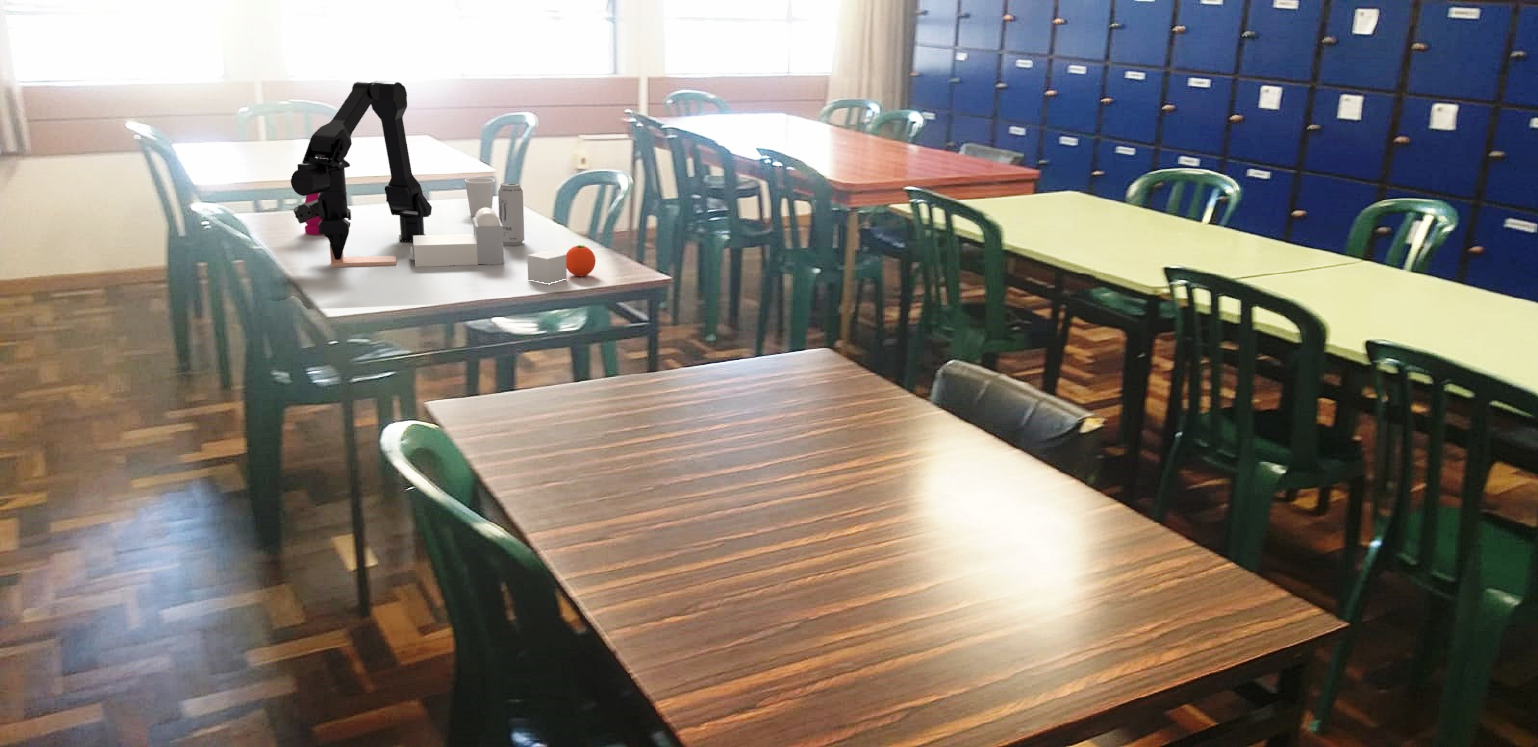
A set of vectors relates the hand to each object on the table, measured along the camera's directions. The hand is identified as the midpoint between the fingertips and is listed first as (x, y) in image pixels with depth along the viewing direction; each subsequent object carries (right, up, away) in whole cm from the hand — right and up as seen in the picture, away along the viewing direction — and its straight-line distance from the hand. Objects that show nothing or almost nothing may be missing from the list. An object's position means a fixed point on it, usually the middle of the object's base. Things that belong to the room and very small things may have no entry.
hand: (338, 257), depth 264 cm
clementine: (+56, -4, -1) cm, 56 cm away
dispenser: (+25, 0, +8) cm, 27 cm away
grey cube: (+49, -6, -7) cm, 50 cm away
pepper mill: (-17, +9, +31) cm, 37 cm away
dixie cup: (+17, +18, +62) cm, 66 cm away
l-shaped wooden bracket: (+5, -1, +2) cm, 6 cm away
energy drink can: (+34, +6, +28) cm, 44 cm away
